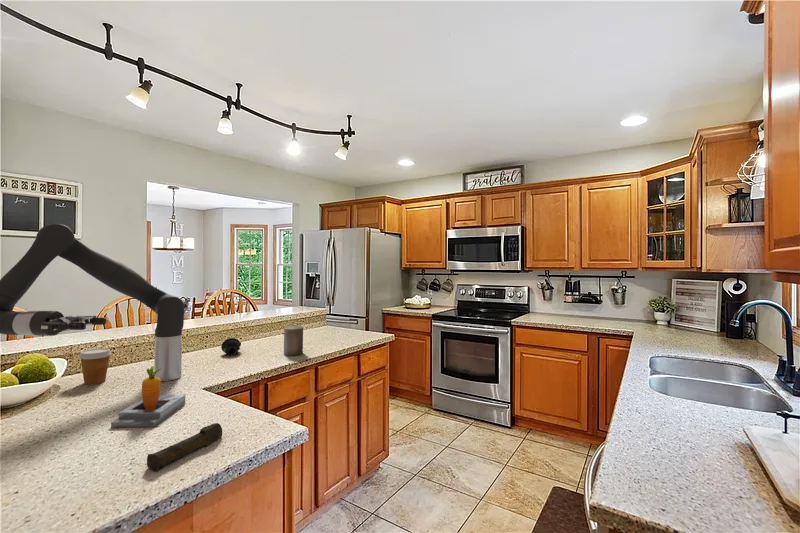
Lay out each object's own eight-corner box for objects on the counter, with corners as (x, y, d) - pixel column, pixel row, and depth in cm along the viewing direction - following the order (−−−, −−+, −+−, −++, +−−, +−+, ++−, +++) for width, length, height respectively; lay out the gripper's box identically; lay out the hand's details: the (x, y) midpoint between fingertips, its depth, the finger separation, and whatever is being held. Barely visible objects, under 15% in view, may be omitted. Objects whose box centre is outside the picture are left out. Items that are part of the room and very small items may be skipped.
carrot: (146, 411, 116) (148, 363, 116) (163, 411, 116) (164, 363, 116) (137, 418, 111) (138, 368, 111) (154, 418, 111) (155, 368, 111)
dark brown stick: (155, 474, 83) (156, 454, 83) (145, 469, 85) (145, 449, 85) (228, 440, 100) (229, 422, 100) (218, 436, 102) (219, 419, 102)
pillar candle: (306, 353, 194) (307, 324, 194) (292, 356, 186) (292, 327, 186) (294, 350, 199) (294, 322, 199) (279, 354, 191) (279, 325, 191)
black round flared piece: (219, 348, 180) (216, 330, 195) (227, 365, 185) (224, 347, 200) (238, 340, 184) (234, 323, 198) (246, 357, 189) (242, 339, 203)
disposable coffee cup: (92, 387, 136) (93, 354, 136) (71, 384, 138) (72, 352, 138) (117, 379, 145) (117, 348, 145) (97, 377, 147) (97, 347, 147)
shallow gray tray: (149, 403, 122) (149, 394, 122) (185, 403, 123) (185, 394, 123) (110, 427, 104) (111, 417, 104) (153, 427, 105) (153, 417, 105)
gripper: (17, 314, 106) (77, 314, 107) (58, 307, 120) (111, 308, 121) (17, 340, 106) (77, 340, 107) (58, 330, 120) (111, 331, 121)
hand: (95, 323), depth 114 cm, fingers open, 8 cm apart
